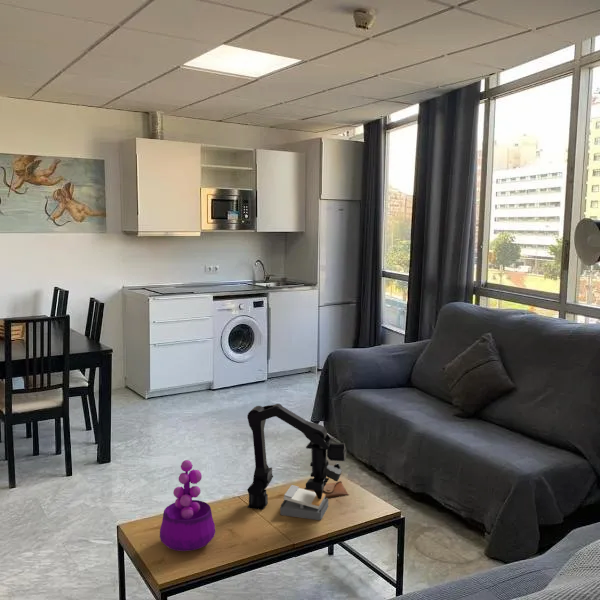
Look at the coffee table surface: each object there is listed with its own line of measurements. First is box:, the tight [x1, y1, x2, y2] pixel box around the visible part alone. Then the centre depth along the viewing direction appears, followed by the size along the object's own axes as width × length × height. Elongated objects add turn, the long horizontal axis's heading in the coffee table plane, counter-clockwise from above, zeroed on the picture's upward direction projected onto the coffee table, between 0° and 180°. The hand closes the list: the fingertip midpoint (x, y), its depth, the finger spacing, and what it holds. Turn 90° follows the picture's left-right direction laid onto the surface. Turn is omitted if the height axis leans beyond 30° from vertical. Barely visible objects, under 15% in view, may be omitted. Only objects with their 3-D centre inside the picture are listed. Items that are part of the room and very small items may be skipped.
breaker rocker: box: [283, 484, 325, 509], centre depth 234 cm, size 14×11×2 cm
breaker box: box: [279, 498, 329, 521], centre depth 234 cm, size 16×12×4 cm
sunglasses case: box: [303, 480, 350, 500], centre depth 250 cm, size 18×7×7 cm
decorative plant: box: [159, 459, 216, 552], centre depth 207 cm, size 19×18×30 cm
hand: (319, 498), depth 233 cm, fingers closed, pressing on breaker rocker
